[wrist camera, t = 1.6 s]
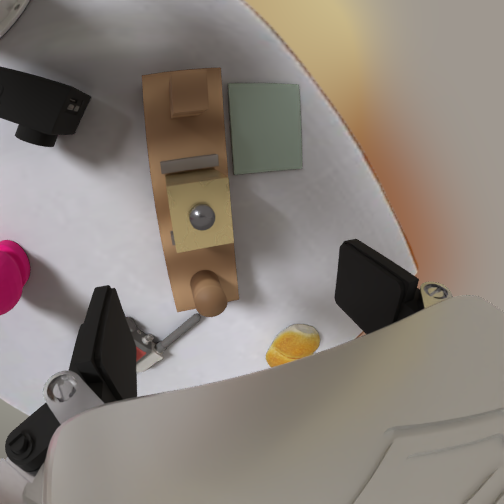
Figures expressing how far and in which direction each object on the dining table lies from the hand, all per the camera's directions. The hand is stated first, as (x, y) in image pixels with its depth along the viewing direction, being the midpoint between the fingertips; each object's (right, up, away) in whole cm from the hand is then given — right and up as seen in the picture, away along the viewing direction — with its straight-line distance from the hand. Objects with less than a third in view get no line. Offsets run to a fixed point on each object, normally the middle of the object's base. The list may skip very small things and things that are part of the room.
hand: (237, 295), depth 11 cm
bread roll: (+7, -13, +32) cm, 35 cm away
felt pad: (+2, +15, +17) cm, 23 cm away
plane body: (-6, +8, +18) cm, 20 cm away
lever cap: (-5, +7, +14) cm, 16 cm away
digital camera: (-21, +17, +9) cm, 28 cm away
